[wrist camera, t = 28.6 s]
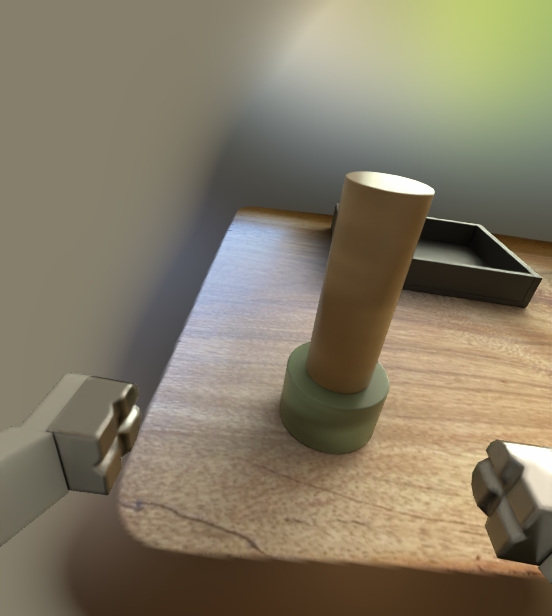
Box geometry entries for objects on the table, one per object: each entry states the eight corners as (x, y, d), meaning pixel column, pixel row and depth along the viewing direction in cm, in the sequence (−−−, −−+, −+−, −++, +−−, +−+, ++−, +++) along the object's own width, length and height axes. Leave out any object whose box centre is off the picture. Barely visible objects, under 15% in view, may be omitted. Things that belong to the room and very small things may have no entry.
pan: (336, 279, 34) (343, 248, 32) (330, 227, 46) (335, 203, 44) (526, 307, 34) (542, 278, 32) (470, 248, 46) (480, 224, 44)
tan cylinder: (275, 445, 18) (323, 189, 11) (282, 375, 22) (319, 160, 16) (380, 461, 18) (485, 211, 11) (367, 387, 22) (438, 177, 16)
